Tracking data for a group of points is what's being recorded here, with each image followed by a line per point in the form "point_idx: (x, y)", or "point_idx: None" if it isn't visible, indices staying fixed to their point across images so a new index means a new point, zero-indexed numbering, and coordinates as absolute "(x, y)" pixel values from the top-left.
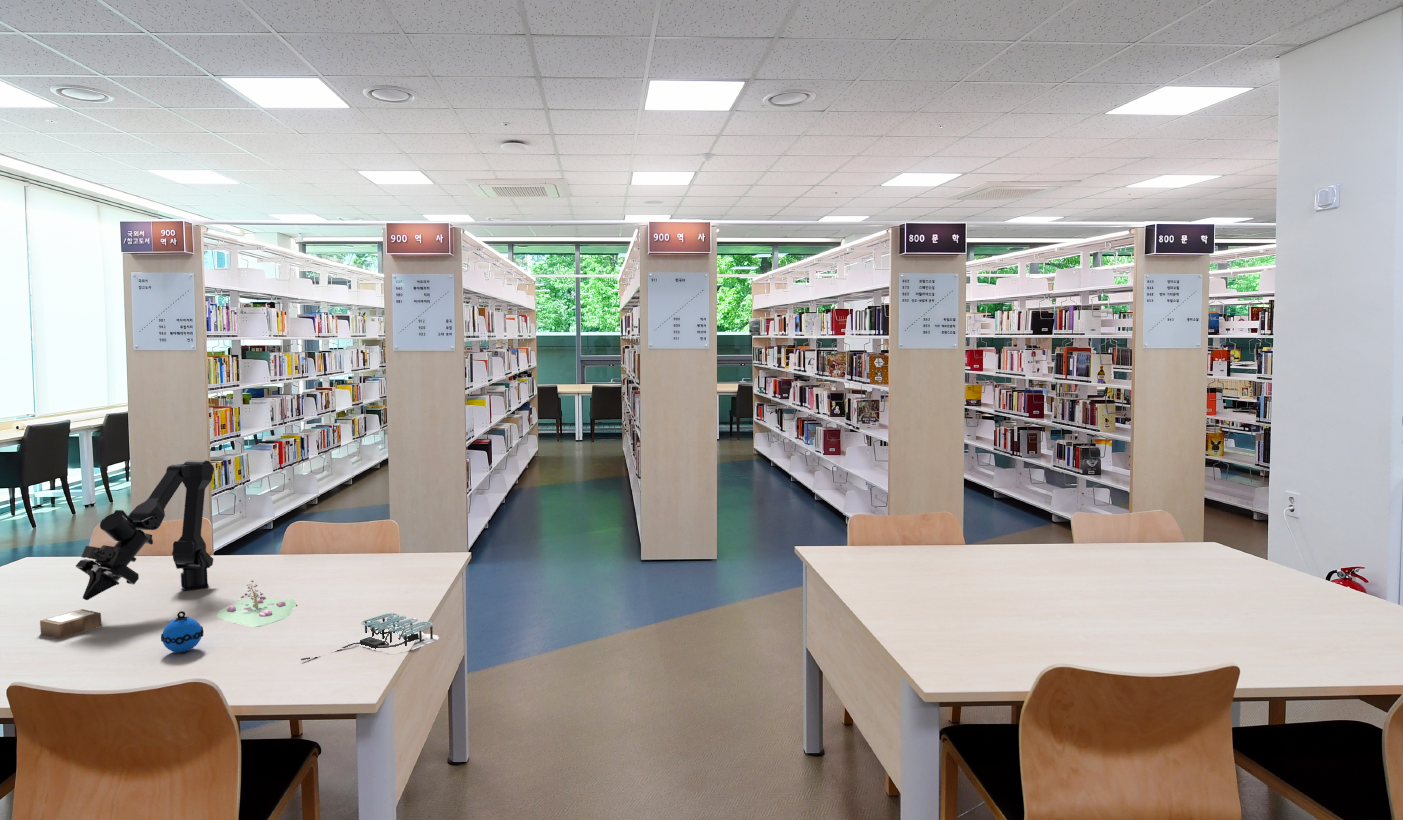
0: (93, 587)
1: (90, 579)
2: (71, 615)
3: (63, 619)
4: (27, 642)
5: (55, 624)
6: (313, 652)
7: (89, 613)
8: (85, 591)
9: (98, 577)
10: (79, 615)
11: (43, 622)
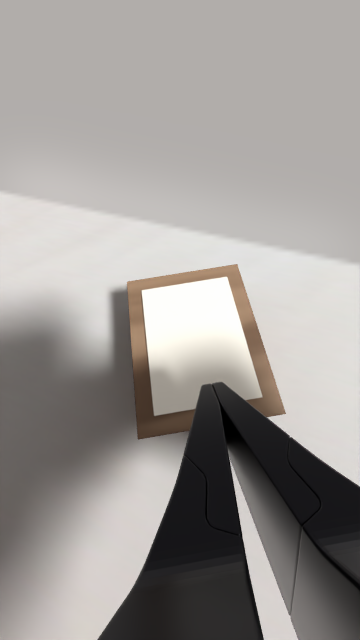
0: (185, 455)
1: (357, 509)
2: (202, 342)
3: (169, 306)
4: (180, 253)
5: (146, 279)
6: None
7: (166, 398)
8: (243, 405)
9: (164, 606)
10: (173, 360)
11: (216, 269)
